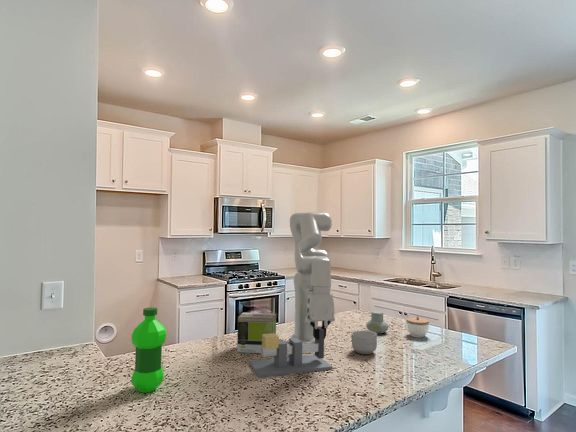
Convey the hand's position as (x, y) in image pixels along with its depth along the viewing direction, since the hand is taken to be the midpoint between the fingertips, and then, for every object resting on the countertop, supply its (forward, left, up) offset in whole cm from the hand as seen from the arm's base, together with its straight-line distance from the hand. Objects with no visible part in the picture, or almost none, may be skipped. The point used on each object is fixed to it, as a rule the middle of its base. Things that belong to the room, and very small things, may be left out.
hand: (319, 337), depth 146 cm
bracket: (0, -12, -10) cm, 15 cm away
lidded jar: (-22, +63, -10) cm, 68 cm away
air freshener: (-33, +47, -10) cm, 58 cm away
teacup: (-8, +25, -10) cm, 28 cm away
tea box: (-22, -19, -10) cm, 31 cm away
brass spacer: (0, -20, -2) cm, 20 cm away
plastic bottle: (+6, -62, -10) cm, 63 cm away
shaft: (0, -11, -7) cm, 13 cm away
